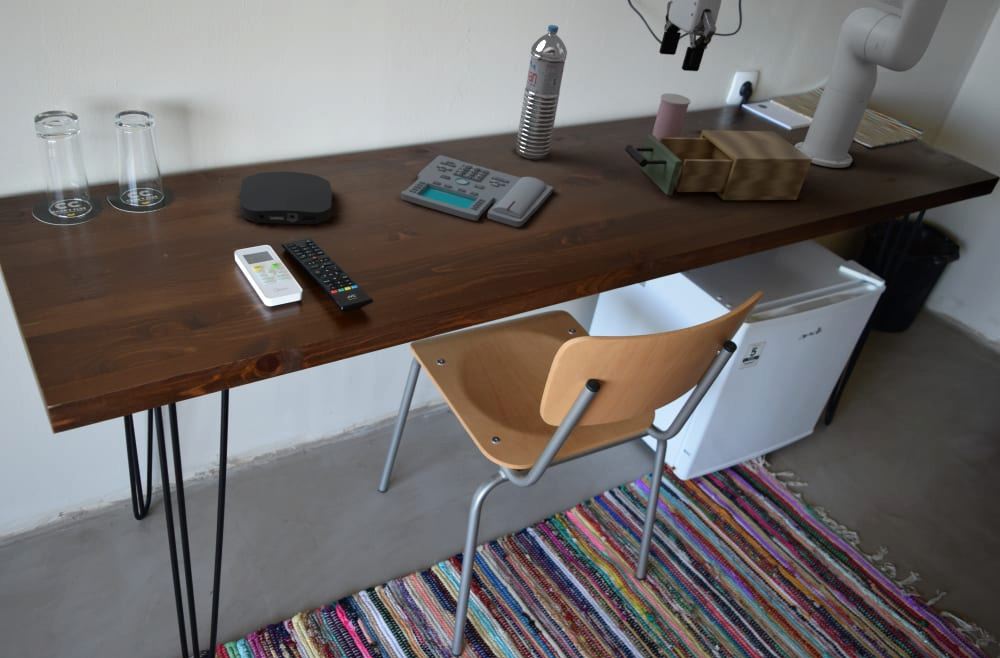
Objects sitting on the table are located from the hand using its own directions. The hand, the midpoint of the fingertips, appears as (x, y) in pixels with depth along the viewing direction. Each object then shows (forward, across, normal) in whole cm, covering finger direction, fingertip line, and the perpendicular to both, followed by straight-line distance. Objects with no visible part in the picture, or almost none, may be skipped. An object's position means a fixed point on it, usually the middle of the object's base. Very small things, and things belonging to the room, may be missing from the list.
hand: (678, 61), depth 150 cm
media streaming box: (+24, -14, +72) cm, 77 cm away
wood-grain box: (+22, -5, -19) cm, 30 cm away
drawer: (+21, -5, -4) cm, 22 cm away
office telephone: (+23, -10, +38) cm, 46 cm away
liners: (+22, +10, -8) cm, 26 cm away
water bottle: (+23, +9, +22) cm, 33 cm away
